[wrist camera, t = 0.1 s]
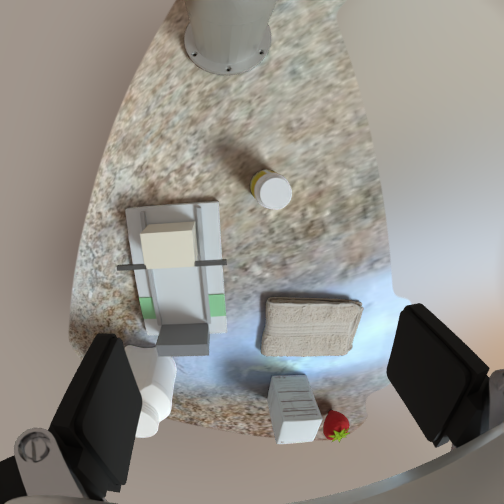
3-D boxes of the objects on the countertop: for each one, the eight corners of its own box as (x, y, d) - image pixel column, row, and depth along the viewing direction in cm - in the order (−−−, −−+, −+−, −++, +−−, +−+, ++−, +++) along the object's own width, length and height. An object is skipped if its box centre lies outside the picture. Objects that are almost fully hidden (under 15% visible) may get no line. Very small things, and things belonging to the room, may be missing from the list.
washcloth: (346, 348, 56) (352, 357, 53) (258, 351, 54) (260, 361, 51) (361, 296, 52) (368, 304, 49) (265, 294, 50) (268, 303, 47)
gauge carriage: (122, 226, 42) (111, 236, 37) (224, 219, 43) (224, 228, 38) (127, 258, 44) (117, 270, 39) (226, 252, 45) (226, 264, 40)
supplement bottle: (251, 203, 44) (258, 215, 36) (247, 171, 43) (253, 176, 35) (283, 199, 45) (296, 210, 37) (280, 167, 43) (293, 172, 35)
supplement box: (299, 397, 59) (313, 442, 47) (266, 398, 58) (275, 445, 46) (307, 373, 57) (324, 419, 45) (271, 374, 56) (282, 422, 44)
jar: (124, 380, 53) (107, 435, 39) (115, 343, 50) (91, 399, 36) (179, 384, 55) (172, 442, 41) (174, 347, 51) (163, 407, 37)
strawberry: (315, 422, 63) (325, 453, 53) (320, 402, 60) (333, 435, 51) (338, 418, 63) (350, 448, 54) (344, 399, 61) (358, 430, 52)
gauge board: (127, 207, 43) (111, 218, 36) (218, 200, 44) (217, 210, 37) (148, 331, 50) (140, 356, 43) (227, 328, 51) (228, 354, 44)
